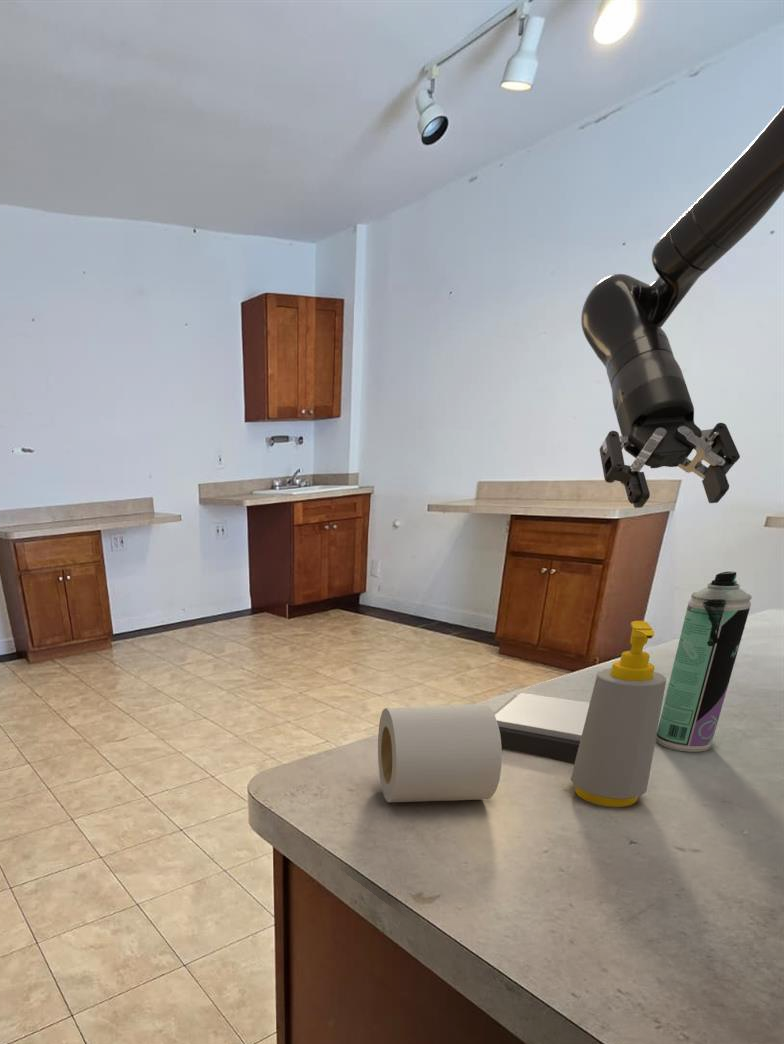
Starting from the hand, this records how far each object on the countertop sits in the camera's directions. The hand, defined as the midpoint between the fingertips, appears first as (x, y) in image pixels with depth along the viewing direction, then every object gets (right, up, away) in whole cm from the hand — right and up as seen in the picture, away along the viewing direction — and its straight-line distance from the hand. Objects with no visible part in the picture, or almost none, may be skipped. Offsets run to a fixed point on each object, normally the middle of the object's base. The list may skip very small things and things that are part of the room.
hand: (680, 500), depth 76 cm
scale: (-12, -28, +4) cm, 31 cm away
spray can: (+1, -29, +1) cm, 29 cm away
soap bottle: (-15, -35, -10) cm, 39 cm away
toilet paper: (-32, -35, -7) cm, 49 cm away
